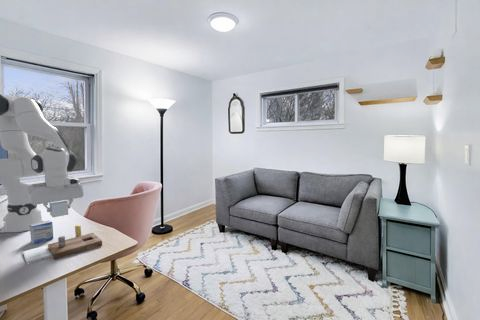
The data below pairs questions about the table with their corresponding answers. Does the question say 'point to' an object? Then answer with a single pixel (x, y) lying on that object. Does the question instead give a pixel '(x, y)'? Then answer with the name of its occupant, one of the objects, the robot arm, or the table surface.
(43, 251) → the external hard drive
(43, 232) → the medicine box
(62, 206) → the light grey cube
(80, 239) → the board
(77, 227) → the peg
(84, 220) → the table surface
